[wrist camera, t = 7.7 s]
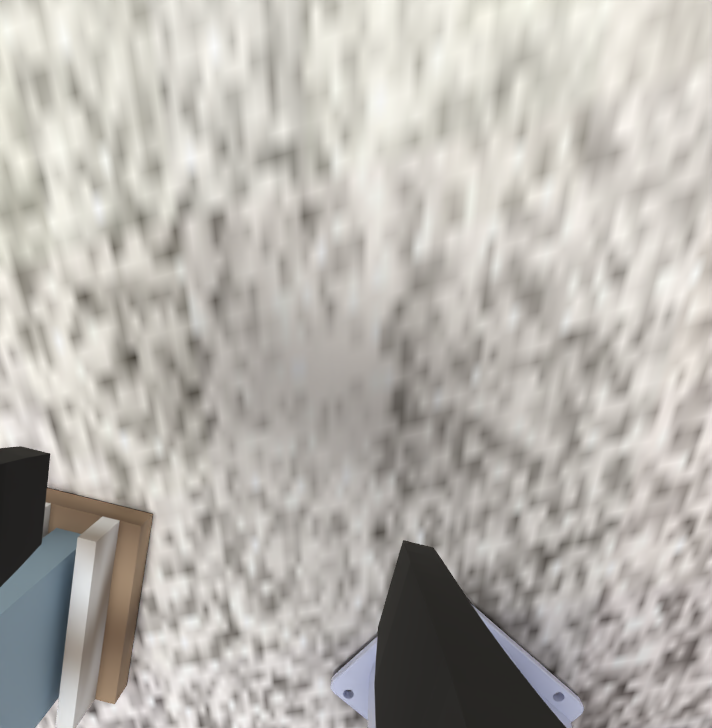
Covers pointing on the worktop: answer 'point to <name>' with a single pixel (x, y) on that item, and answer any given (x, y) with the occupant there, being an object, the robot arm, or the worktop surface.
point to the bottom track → (98, 598)
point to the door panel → (35, 630)
